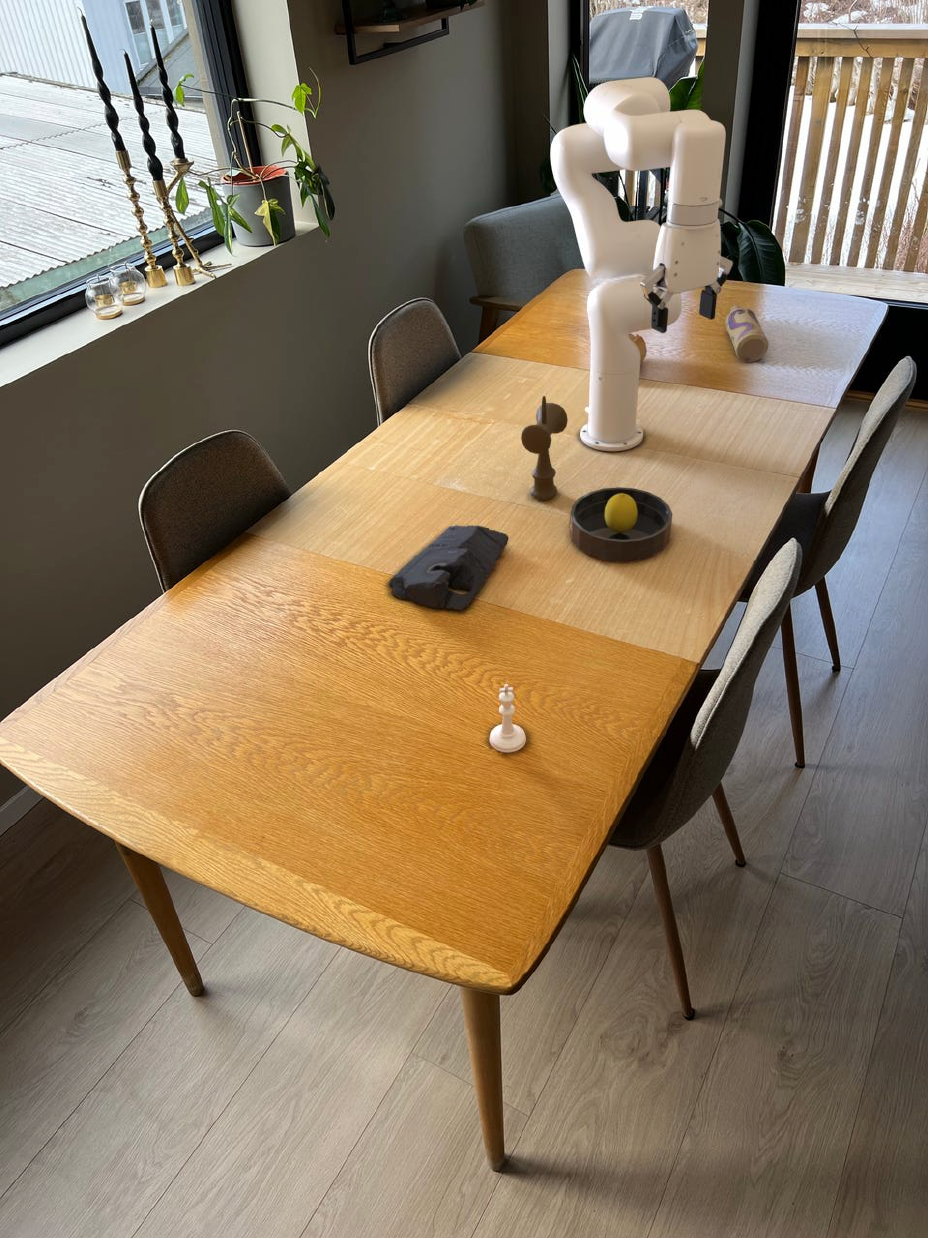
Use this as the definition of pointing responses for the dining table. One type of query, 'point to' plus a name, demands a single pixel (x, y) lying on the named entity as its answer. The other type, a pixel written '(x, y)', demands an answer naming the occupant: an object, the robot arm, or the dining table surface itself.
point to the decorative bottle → (746, 334)
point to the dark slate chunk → (450, 567)
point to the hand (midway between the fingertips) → (683, 323)
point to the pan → (627, 546)
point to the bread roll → (639, 345)
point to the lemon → (621, 513)
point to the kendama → (544, 447)
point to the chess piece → (507, 725)
